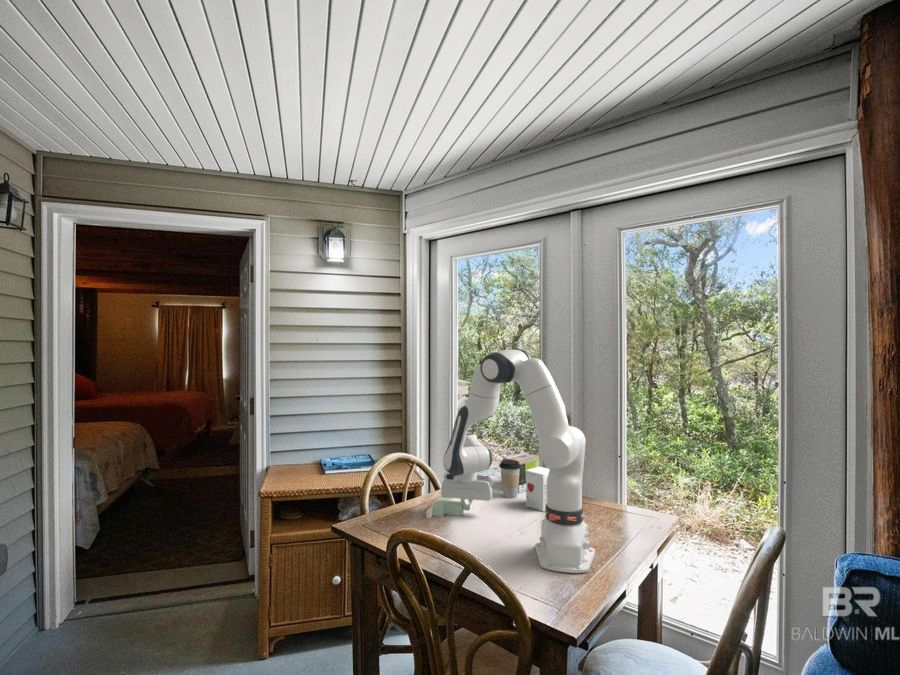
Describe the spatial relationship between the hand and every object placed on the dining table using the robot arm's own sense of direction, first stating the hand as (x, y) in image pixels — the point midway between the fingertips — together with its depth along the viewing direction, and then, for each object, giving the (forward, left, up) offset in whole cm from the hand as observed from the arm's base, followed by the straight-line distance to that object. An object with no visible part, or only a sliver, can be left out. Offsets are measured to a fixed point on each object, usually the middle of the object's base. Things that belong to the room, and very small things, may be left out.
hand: (466, 509), depth 183 cm
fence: (0, +8, -2) cm, 8 cm away
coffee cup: (+26, -14, -2) cm, 29 cm away
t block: (0, +7, -2) cm, 7 cm away
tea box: (+40, -17, -2) cm, 43 cm away
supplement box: (+16, -28, -2) cm, 32 cm away
